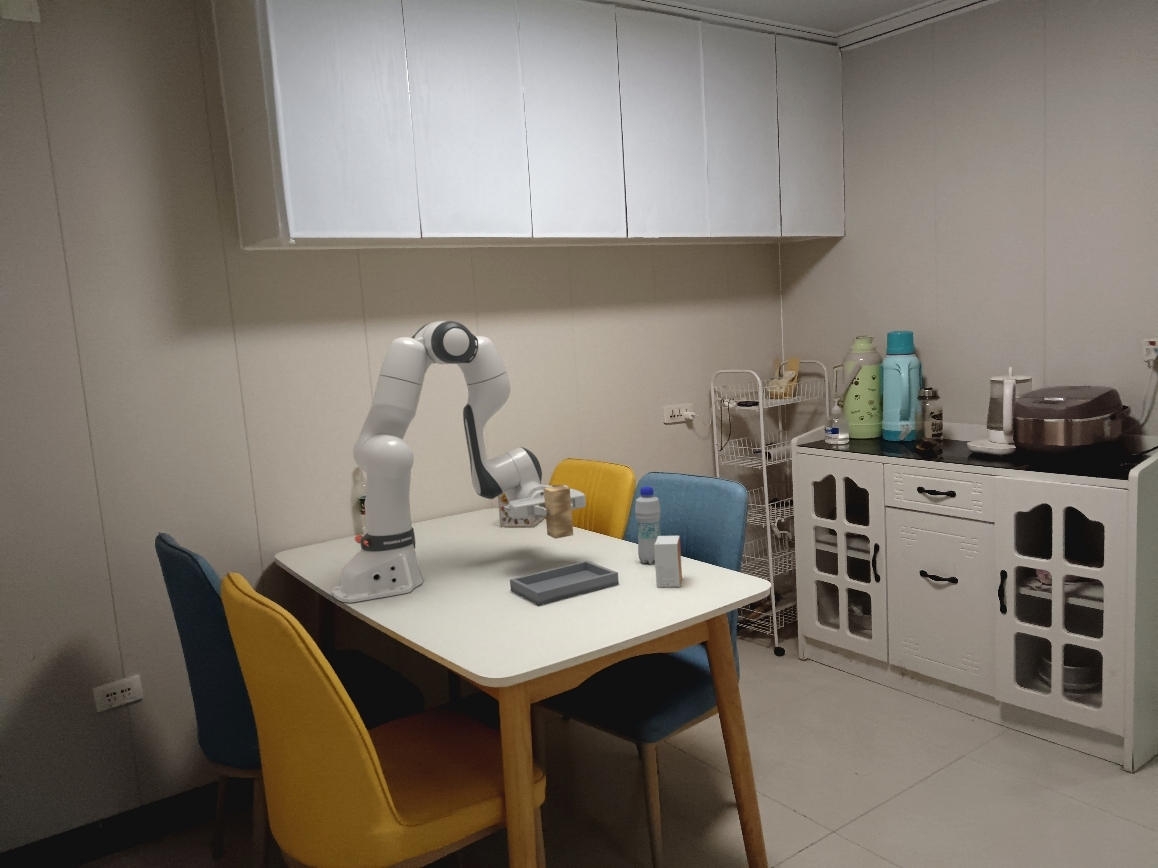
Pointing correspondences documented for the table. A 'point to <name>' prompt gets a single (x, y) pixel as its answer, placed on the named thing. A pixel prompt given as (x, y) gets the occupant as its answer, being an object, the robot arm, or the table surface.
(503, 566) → the table surface
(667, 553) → the small box
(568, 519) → the oak block
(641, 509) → the bottle
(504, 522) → the decorative jar
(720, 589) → the table surface
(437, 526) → the table surface
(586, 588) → the tray
